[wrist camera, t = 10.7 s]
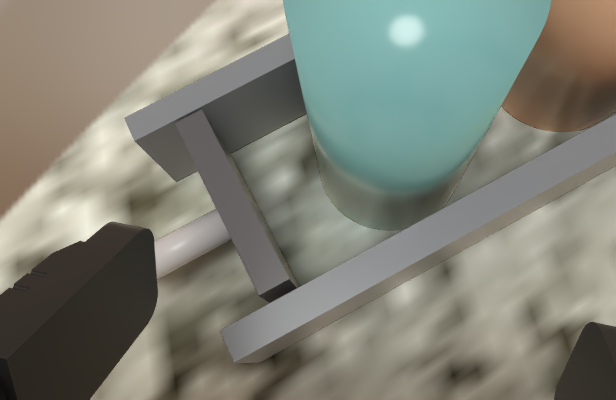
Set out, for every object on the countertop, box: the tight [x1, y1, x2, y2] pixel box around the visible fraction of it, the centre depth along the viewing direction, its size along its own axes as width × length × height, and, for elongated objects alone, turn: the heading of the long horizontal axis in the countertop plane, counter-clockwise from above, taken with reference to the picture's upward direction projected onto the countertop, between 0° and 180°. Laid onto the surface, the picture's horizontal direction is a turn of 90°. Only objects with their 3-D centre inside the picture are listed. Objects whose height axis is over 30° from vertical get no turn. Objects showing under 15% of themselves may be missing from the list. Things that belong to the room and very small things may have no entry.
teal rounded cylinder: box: [283, 0, 551, 230], centre depth 15 cm, size 6×6×10 cm
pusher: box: [154, 110, 299, 303], centre depth 17 cm, size 5×6×4 cm
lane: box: [124, 34, 616, 363], centre depth 18 cm, size 20×9×4 cm, turn 118°
